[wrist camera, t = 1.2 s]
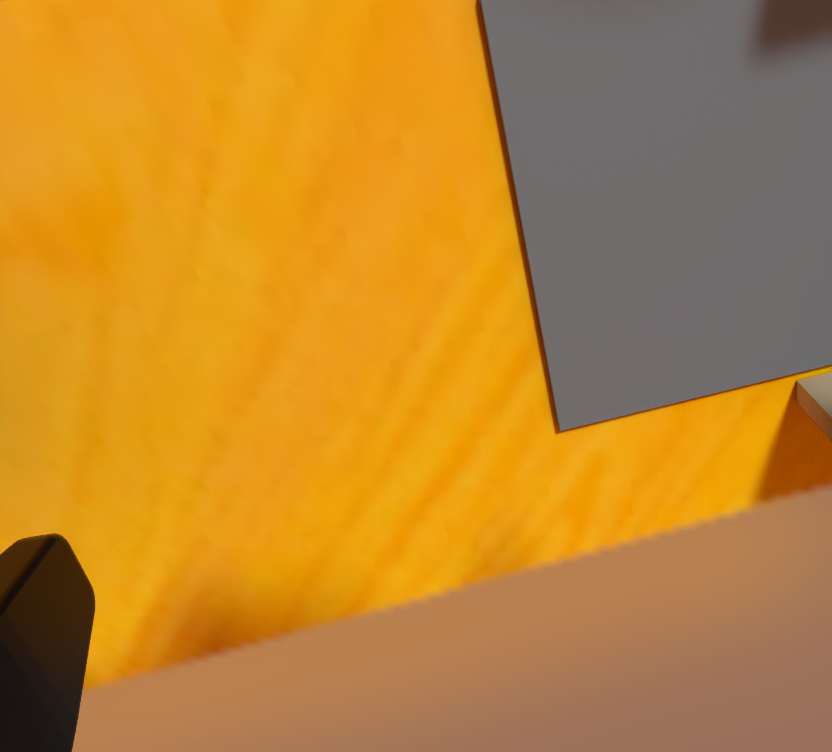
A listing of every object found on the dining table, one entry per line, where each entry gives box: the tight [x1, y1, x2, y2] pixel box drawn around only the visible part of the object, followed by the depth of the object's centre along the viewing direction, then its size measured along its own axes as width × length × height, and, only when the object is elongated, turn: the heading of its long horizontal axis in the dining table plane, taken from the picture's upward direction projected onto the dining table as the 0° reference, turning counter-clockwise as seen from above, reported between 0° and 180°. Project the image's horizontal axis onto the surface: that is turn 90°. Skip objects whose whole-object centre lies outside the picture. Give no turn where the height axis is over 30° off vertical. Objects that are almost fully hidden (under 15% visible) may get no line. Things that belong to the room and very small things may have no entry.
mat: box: [479, 0, 832, 431], centre depth 20 cm, size 12×12×1 cm
